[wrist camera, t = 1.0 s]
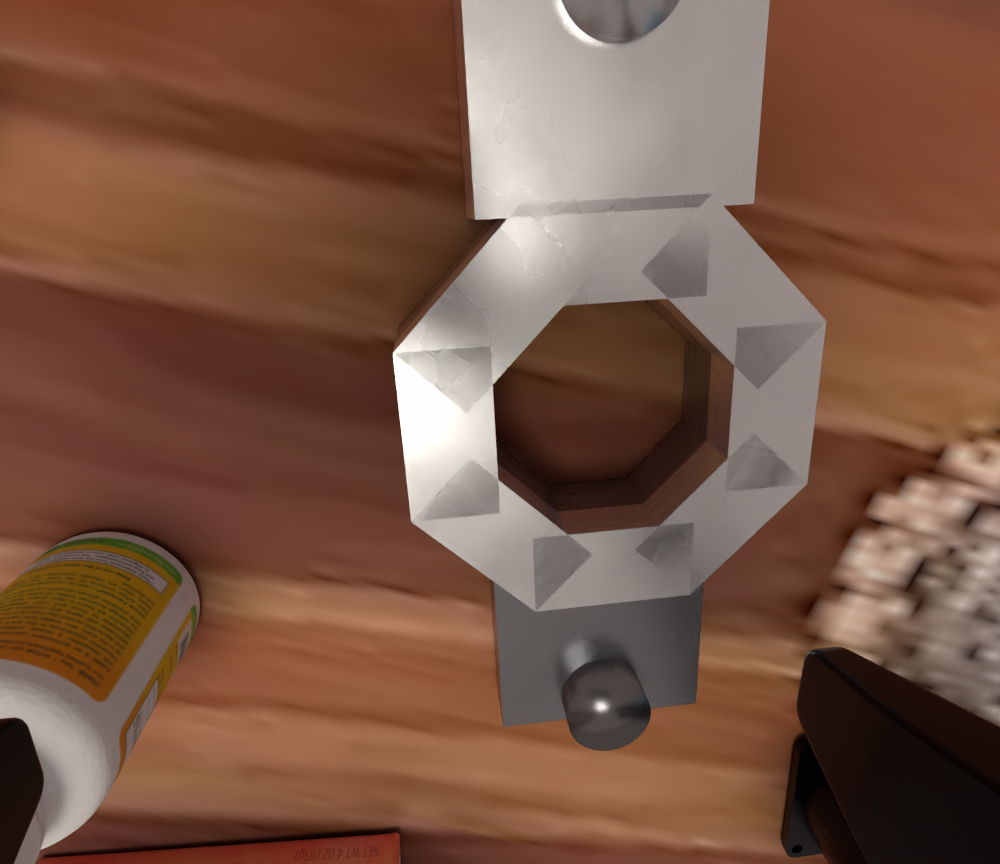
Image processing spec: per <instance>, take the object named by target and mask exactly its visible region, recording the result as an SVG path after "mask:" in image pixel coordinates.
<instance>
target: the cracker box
mask: <svg viewBox="0 0 1000 864" xmlns="http://www.w3.org/2000/svg"><path fill="white" fill-rule="evenodd" d="M37 864H401V858H400V835H399V834H398V833H396V832H395V833H390V834H379V835H365V836H351V837H337V838H324V839H310V840H295V841H280V842H266V843H251V844H241V845H225V846H209V847H195V848H181V849H167V850H152V851H139V852H125V853H110V854H94V855H80V856H64V857H48V858H42V859H41V860H40V861H39V862H38V863H37Z"/></svg>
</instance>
